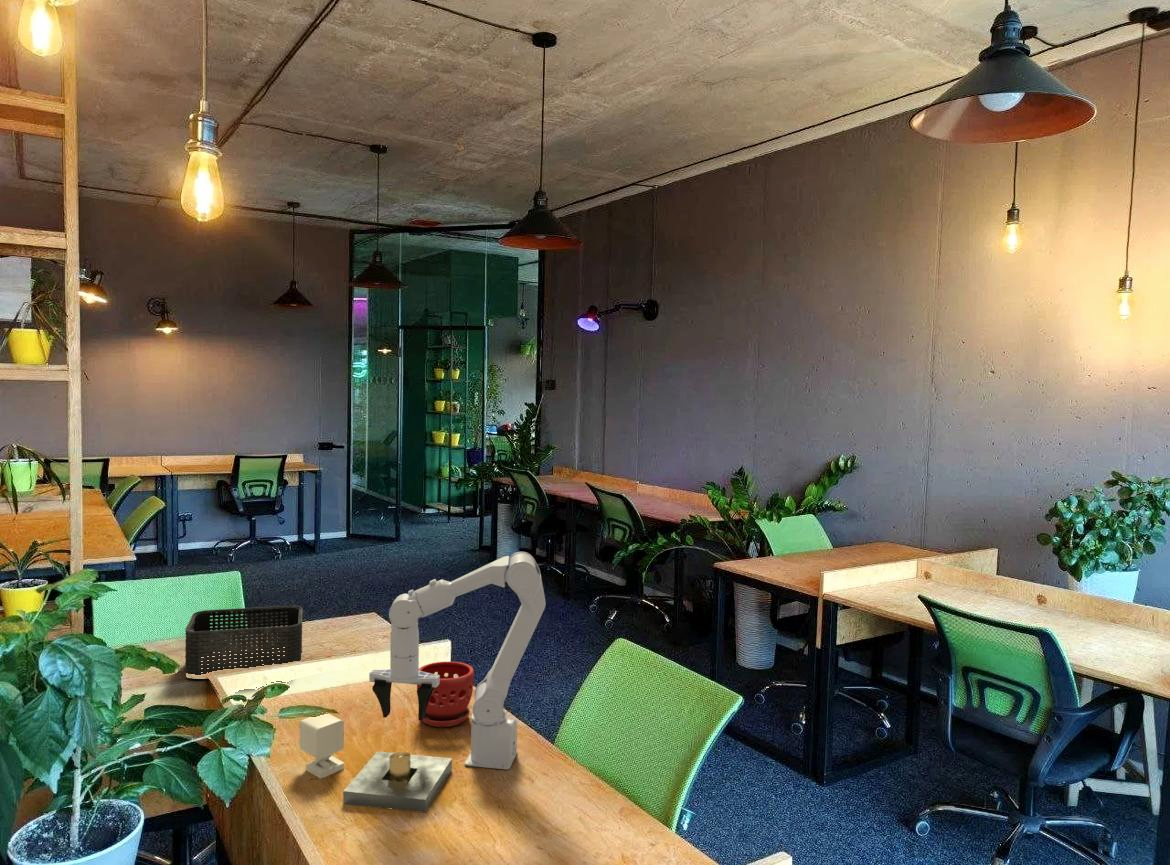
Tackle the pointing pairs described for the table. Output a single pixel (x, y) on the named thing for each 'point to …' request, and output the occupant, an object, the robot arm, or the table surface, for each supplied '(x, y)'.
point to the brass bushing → (400, 767)
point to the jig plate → (398, 783)
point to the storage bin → (207, 641)
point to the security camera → (322, 743)
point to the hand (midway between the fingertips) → (404, 717)
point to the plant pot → (449, 694)
